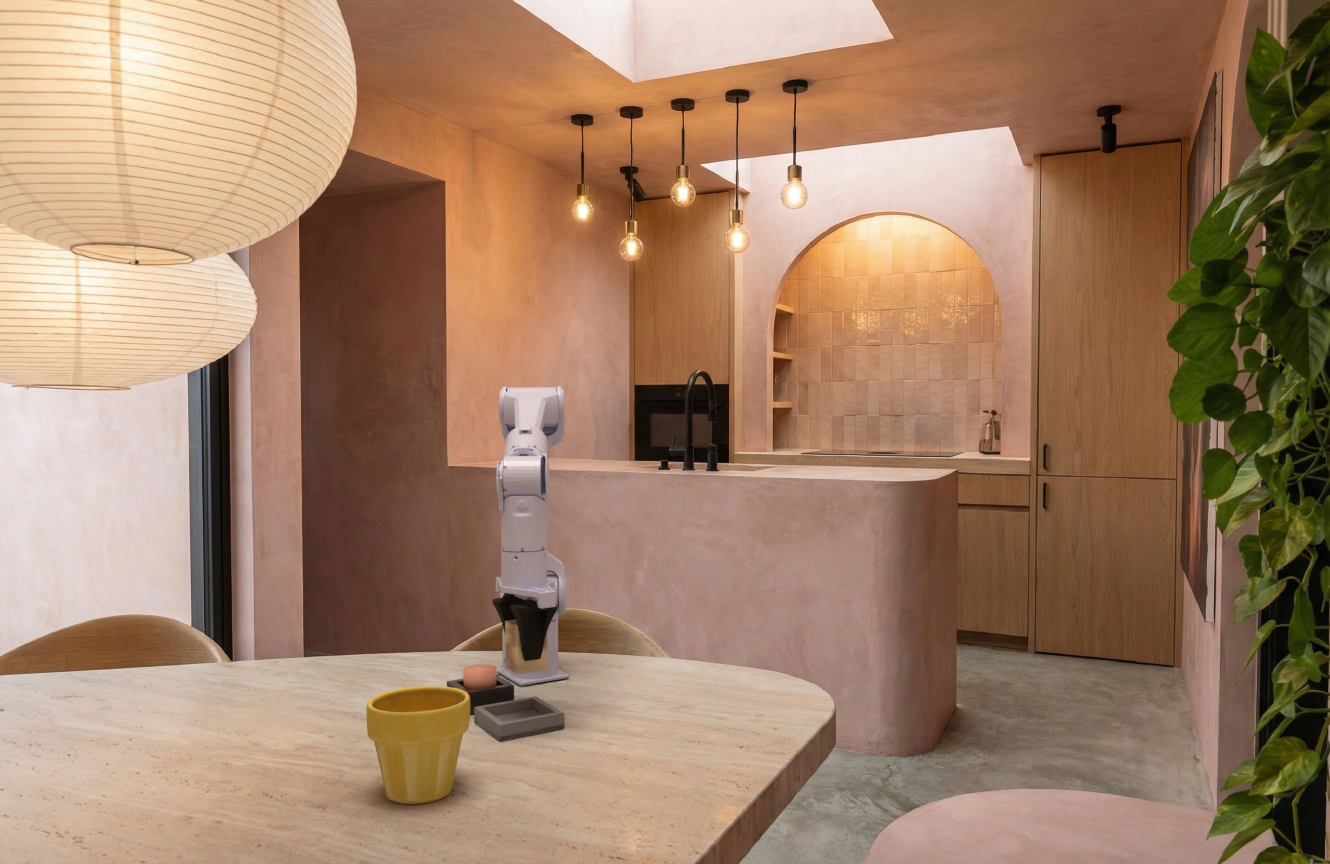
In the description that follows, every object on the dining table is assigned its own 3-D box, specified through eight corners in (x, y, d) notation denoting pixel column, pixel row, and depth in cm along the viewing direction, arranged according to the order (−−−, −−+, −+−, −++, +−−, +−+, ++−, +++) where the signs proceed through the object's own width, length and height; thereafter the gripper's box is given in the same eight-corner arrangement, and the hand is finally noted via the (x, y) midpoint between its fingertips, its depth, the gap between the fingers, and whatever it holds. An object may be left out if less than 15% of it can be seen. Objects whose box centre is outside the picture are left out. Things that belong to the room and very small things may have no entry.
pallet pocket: (474, 722, 118) (474, 706, 118) (536, 711, 122) (536, 696, 122) (499, 741, 111) (499, 725, 111) (564, 728, 115) (564, 712, 115)
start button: (459, 689, 126) (458, 667, 126) (489, 684, 128) (489, 662, 128) (470, 696, 122) (470, 674, 122) (501, 691, 125) (501, 669, 125)
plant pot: (430, 765, 103) (430, 678, 103) (491, 788, 96) (490, 695, 96) (347, 794, 95) (346, 700, 95) (406, 821, 88) (406, 720, 88)
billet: (505, 667, 118) (505, 620, 118) (534, 662, 120) (534, 617, 120) (518, 674, 115) (517, 626, 115) (547, 669, 117) (546, 622, 117)
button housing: (446, 702, 126) (446, 681, 126) (494, 694, 130) (494, 673, 130) (464, 716, 120) (464, 693, 120) (514, 707, 124) (514, 685, 124)
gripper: (577, 553, 113) (578, 662, 113) (529, 541, 126) (530, 640, 126) (524, 557, 110) (525, 671, 110) (480, 545, 122) (481, 647, 122)
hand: (524, 655), depth 117 cm, fingers closed on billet, 4 cm apart
